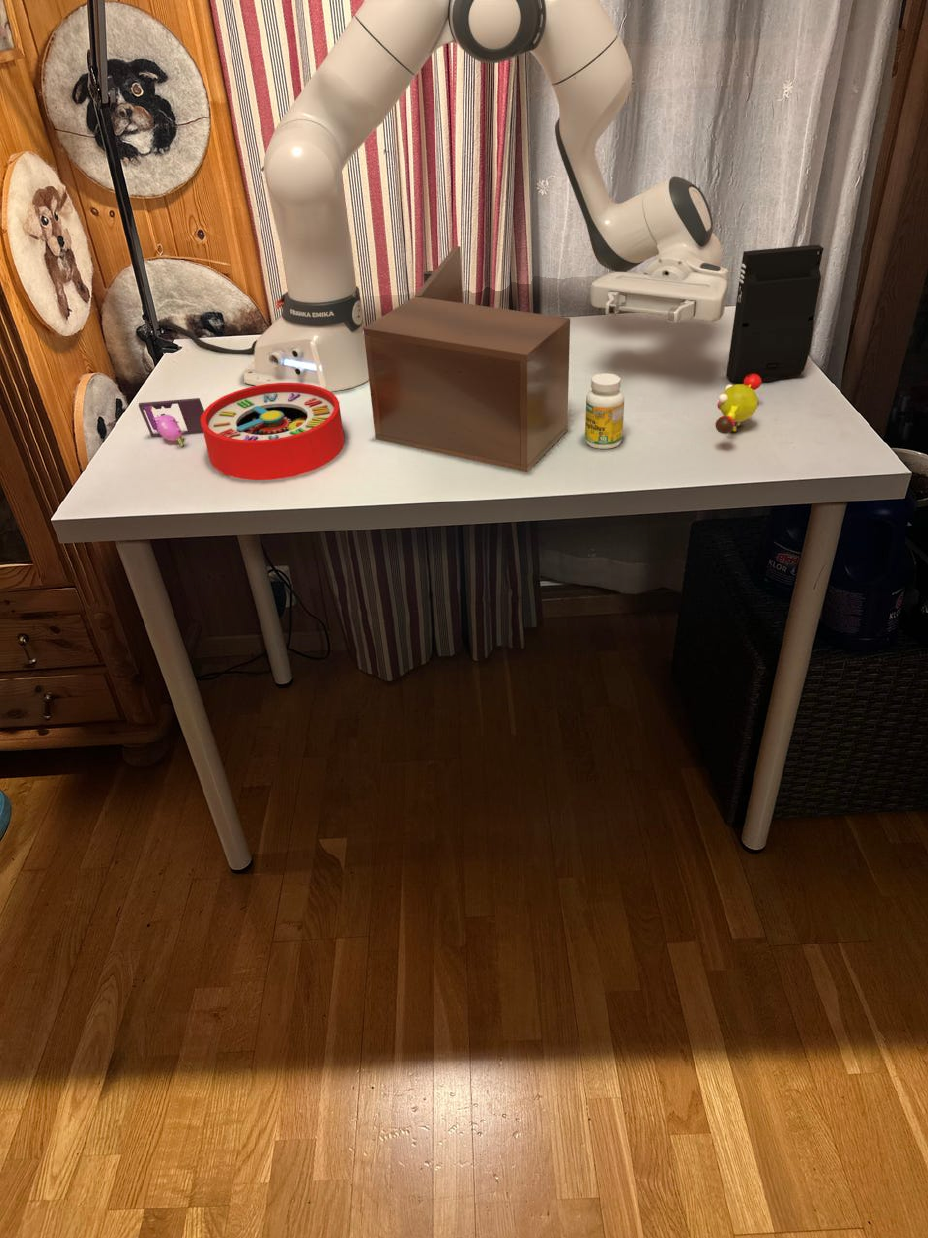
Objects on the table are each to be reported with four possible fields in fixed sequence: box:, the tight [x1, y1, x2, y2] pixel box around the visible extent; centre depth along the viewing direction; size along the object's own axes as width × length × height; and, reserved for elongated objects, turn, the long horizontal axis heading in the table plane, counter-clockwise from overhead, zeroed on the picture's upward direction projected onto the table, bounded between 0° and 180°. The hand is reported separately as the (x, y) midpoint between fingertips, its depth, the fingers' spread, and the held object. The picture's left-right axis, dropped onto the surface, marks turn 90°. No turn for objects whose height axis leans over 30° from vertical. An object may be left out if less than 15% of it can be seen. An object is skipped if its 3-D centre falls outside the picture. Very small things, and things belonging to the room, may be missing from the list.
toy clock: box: [201, 383, 345, 481], centre depth 135 cm, size 20×6×20 cm
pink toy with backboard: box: [138, 397, 205, 447], centre depth 138 cm, size 7×5×9 cm
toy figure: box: [715, 374, 763, 435], centre depth 133 cm, size 18×6×7 cm, turn 152°
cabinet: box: [363, 295, 571, 473], centre depth 132 cm, size 14×25×17 cm, turn 61°
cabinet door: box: [414, 245, 464, 303], centre depth 153 cm, size 6×25×17 cm, turn 166°
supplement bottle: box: [584, 373, 625, 450], centre depth 131 cm, size 5×5×10 cm
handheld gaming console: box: [725, 244, 824, 384], centre depth 143 cm, size 12×5×20 cm, turn 98°
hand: (640, 313), depth 133 cm, fingers open, 8 cm apart
